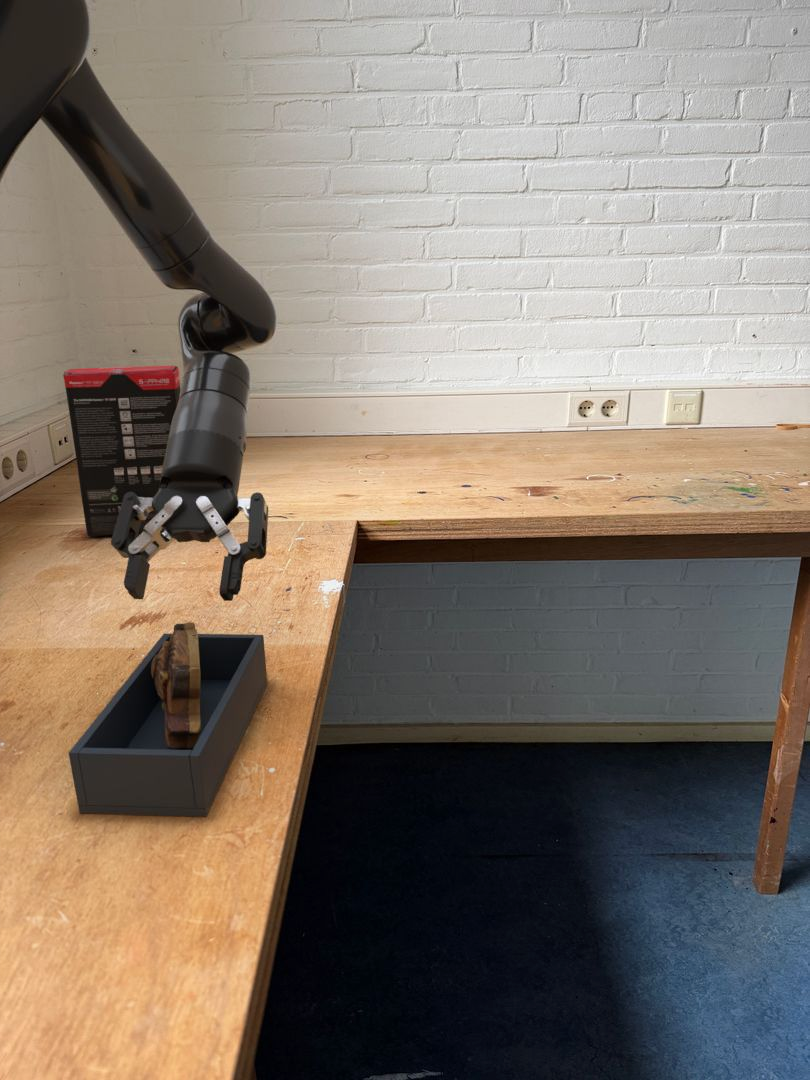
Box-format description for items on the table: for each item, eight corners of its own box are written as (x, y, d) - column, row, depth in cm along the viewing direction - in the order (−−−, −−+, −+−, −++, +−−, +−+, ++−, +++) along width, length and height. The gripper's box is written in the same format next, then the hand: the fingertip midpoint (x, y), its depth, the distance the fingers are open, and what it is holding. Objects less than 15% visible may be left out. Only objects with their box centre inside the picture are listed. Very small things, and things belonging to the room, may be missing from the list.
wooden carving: (152, 695, 81) (140, 605, 78) (198, 686, 83) (188, 597, 80) (168, 788, 67) (154, 682, 63) (223, 775, 68) (212, 671, 65)
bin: (79, 813, 65) (67, 752, 63) (170, 682, 85) (163, 633, 84) (206, 817, 64) (199, 755, 62) (267, 683, 85) (263, 634, 83)
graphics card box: (196, 520, 140) (178, 362, 131) (193, 533, 133) (174, 367, 124) (94, 527, 137) (69, 366, 128) (86, 540, 131) (59, 372, 122)
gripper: (123, 426, 78) (88, 580, 70) (267, 426, 76) (246, 582, 69) (150, 466, 84) (120, 610, 77) (283, 466, 83) (265, 612, 76)
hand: (180, 597), depth 73 cm, fingers open, 8 cm apart
